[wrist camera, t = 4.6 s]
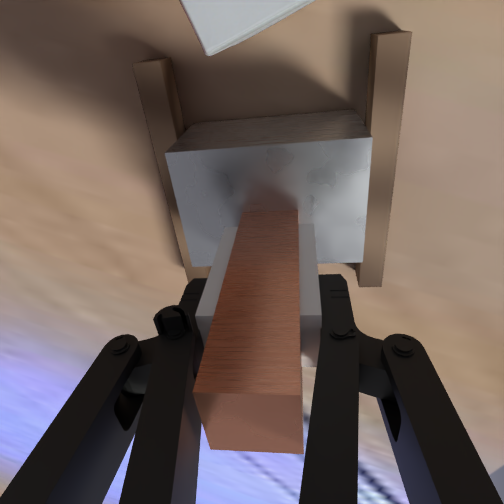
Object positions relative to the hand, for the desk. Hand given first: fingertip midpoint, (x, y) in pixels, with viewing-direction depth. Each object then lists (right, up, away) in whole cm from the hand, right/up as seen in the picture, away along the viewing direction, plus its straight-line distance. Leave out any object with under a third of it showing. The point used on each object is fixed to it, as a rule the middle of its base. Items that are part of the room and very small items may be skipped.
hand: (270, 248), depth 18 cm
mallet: (+1, +5, +5) cm, 8 cm away
